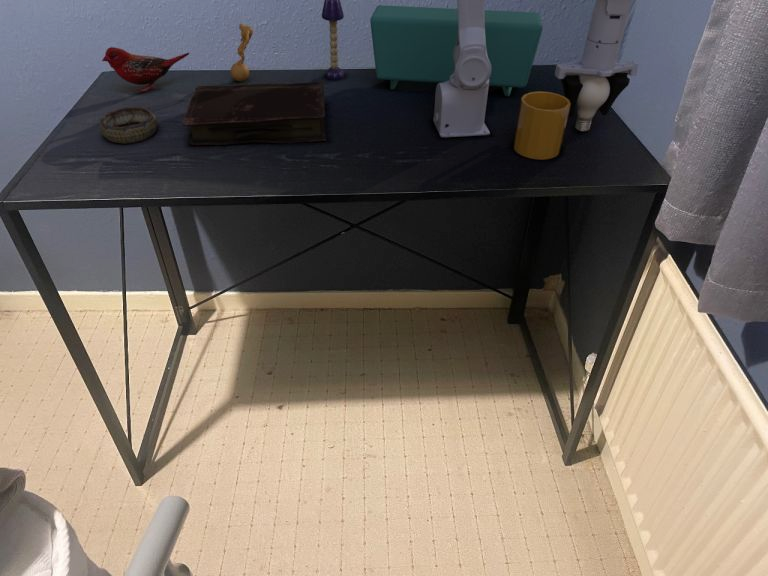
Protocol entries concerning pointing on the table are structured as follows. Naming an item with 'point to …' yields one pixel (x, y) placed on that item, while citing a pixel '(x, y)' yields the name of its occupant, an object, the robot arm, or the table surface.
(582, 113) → the lightbulb
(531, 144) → the mug
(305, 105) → the diary
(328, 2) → the toy lamp
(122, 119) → the decorative ring
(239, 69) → the figurine
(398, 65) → the radio
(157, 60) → the decorative bird figurine
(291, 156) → the table surface
